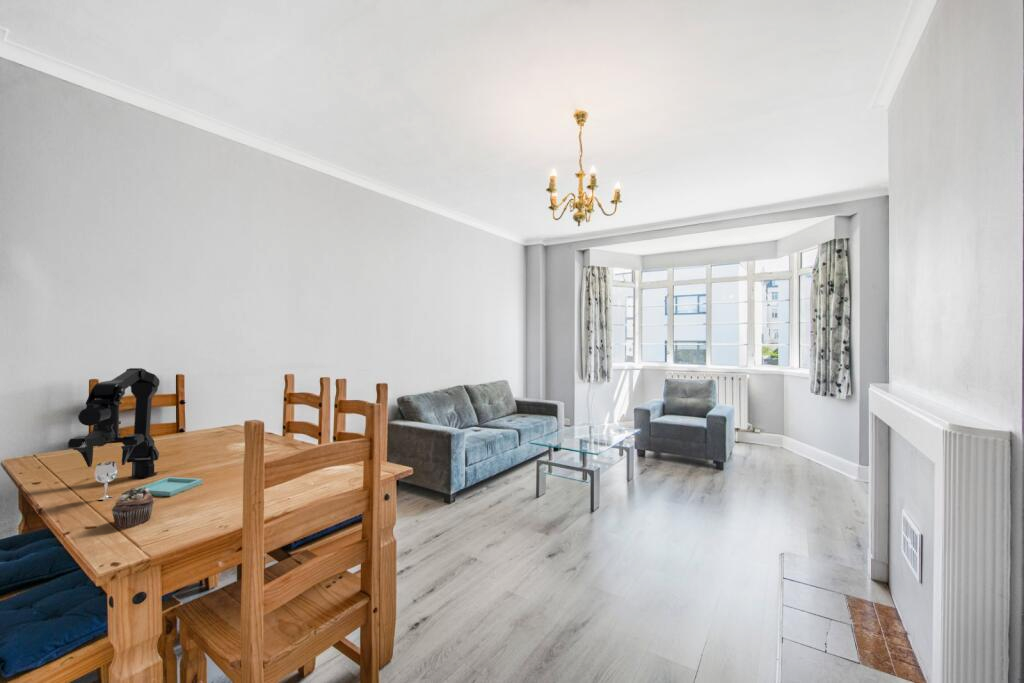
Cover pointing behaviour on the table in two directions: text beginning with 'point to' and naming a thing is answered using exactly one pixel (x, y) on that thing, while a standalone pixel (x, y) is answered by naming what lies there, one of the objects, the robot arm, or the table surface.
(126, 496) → the cupcake
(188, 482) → the tray
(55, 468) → the table surface
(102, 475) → the wineglass
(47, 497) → the table surface
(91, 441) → the robot arm
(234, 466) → the table surface
